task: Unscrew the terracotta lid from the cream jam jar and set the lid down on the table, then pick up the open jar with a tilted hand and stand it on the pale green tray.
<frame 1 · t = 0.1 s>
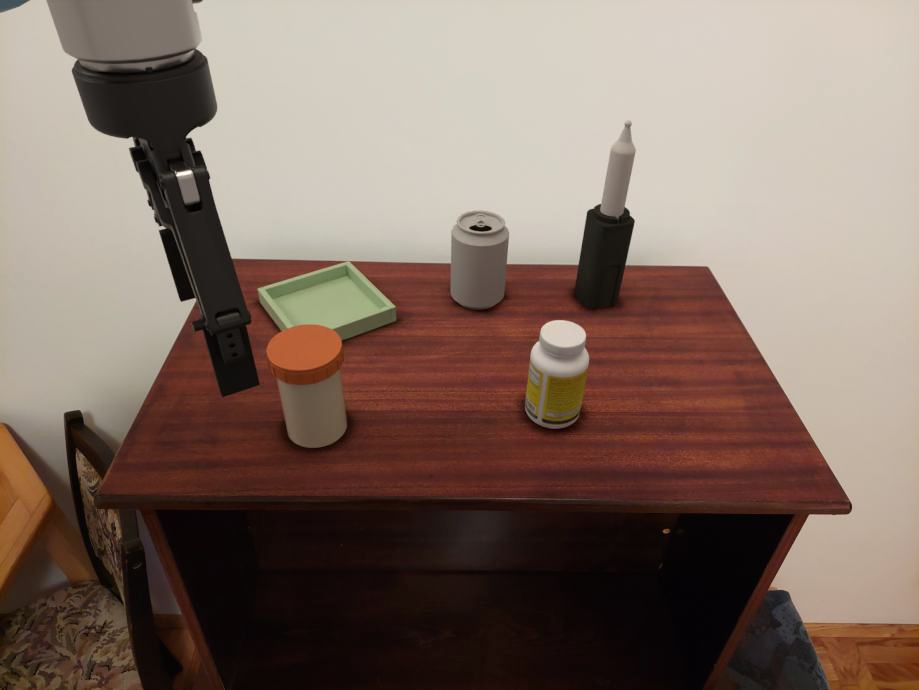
hand: (216, 338, 51), 19 cm above the table, tool pointing down, fingers open, 13 cm apart
jar: (317, 426, 70), on the table
lid: (305, 349, 63), point 11 cm above the table, screwed on, not yet turned
tray: (327, 311, 86), on the table
candle: (595, 299, 90), on the table
pill bottle: (551, 412, 72), on the table
can: (477, 298, 90), on the table
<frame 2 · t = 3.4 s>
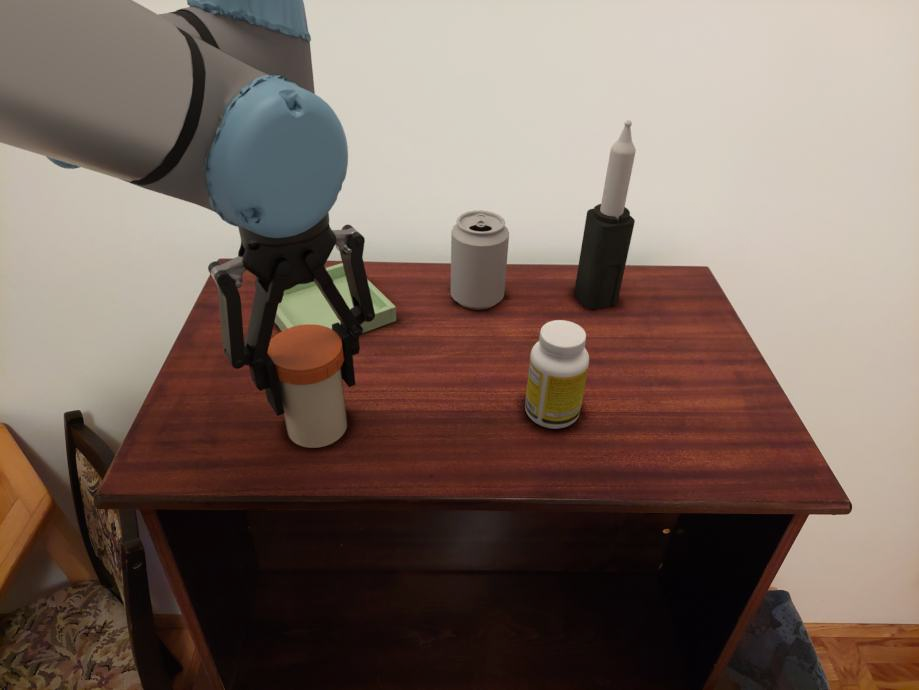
hand: (312, 392, 67), 5 cm above the table, tool pointing down, fingers closed on lid, 7 cm apart
lid: (305, 349, 63), point 11 cm above the table, screwed on, not yet turned, touching gripper
everything else where it was.
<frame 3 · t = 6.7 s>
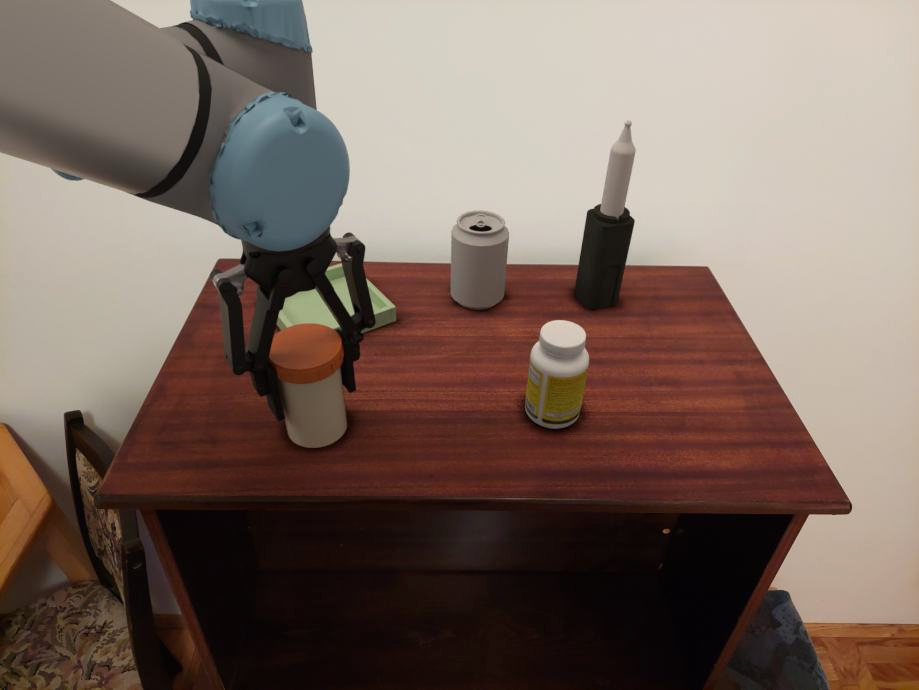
hand: (312, 397, 67), 4 cm above the table, tool pointing down, fingers closed on lid, 7 cm apart
lid: (304, 348, 63), point 11 cm above the table, turned 99° so far, risen 0.1 cm, still on its thread, touching gripper
everything else where it was.
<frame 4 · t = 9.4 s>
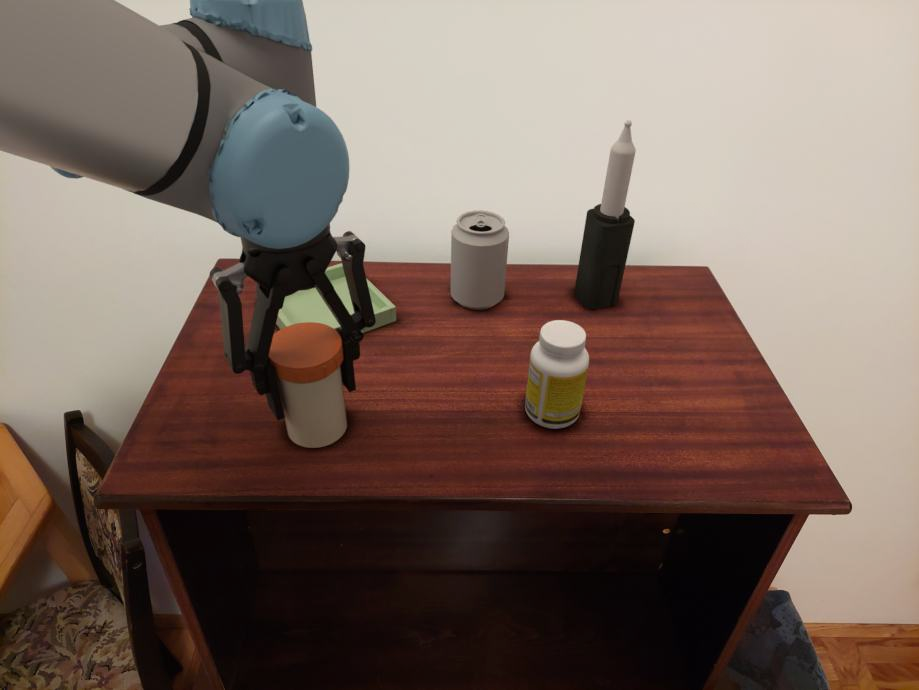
hand: (312, 396, 67), 4 cm above the table, tool pointing down, fingers closed on lid, 7 cm apart
lid: (304, 347, 63), point 11 cm above the table, turned 199° so far, risen 0.3 cm, still on its thread, touching gripper
everything else where it was.
when the fingers open (4 cm above the table, at t = 10.9 s): lid moves 1 cm, point 11 cm above the table.
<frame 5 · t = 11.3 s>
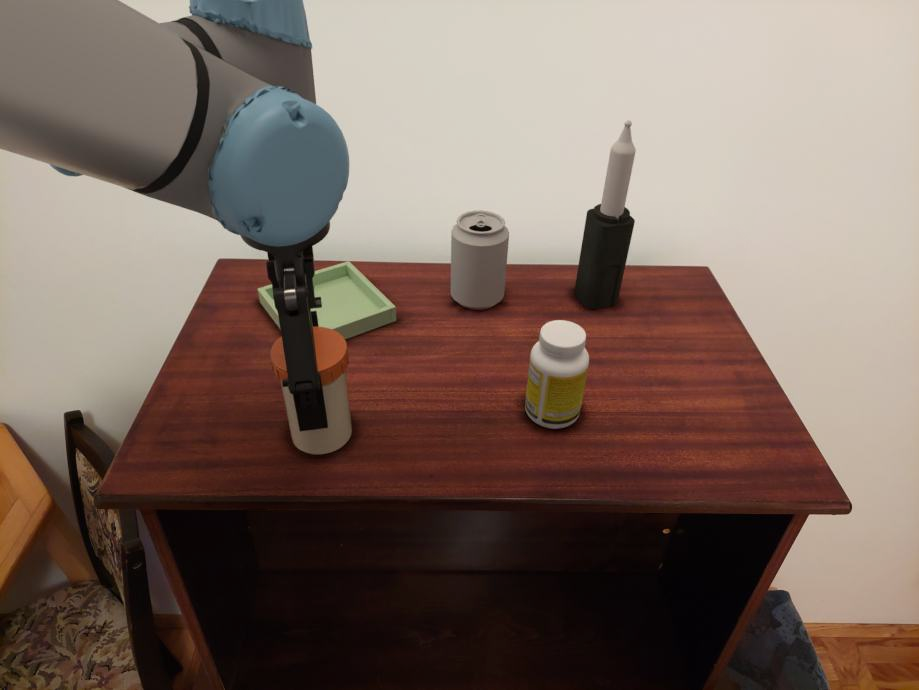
hand: (312, 392, 67), 5 cm above the table, tool pointing down, fingers open, 9 cm apart
jar: (322, 432, 69), on the table
lid: (309, 351, 62), point 11 cm above the table, turned 292° so far, risen 0.4 cm, still on its thread
everything else where it was.
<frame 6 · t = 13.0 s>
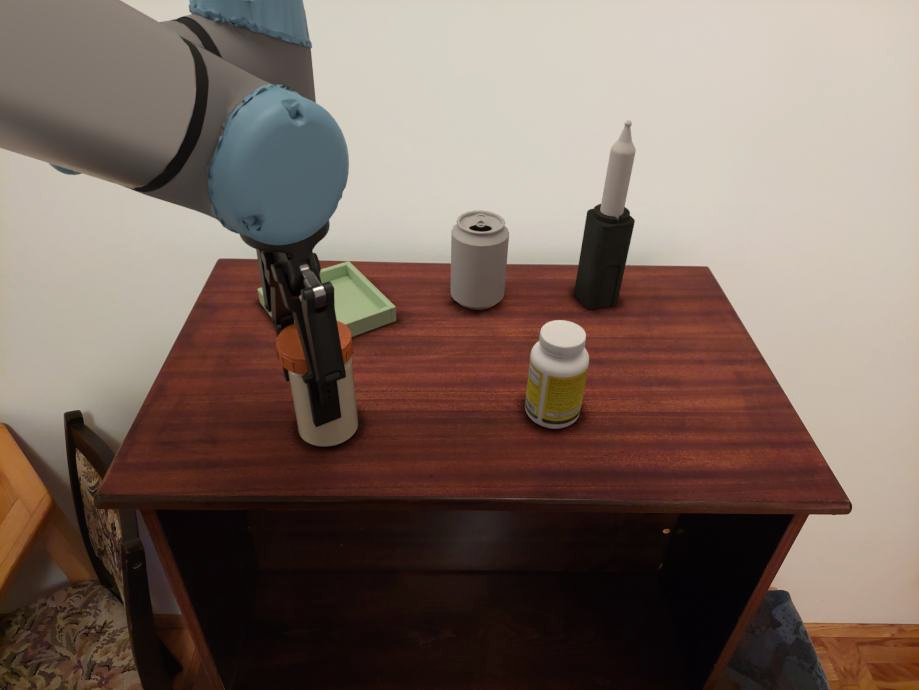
hand: (312, 396, 67), 5 cm above the table, tool pointing down, fingers closed on lid, 7 cm apart
jar: (328, 425, 70), on the table
lid: (314, 340, 63), point 11 cm above the table, off its thread, touching gripper
everything else where it was.
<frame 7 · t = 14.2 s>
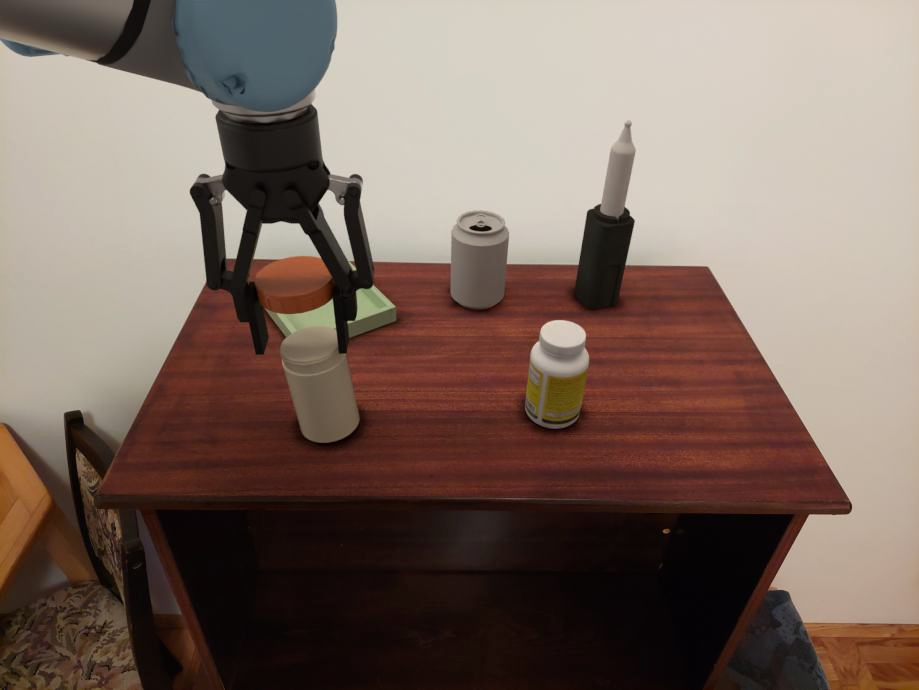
hand: (303, 345, 63), 11 cm above the table, tool pointing down, fingers closed on lid, 7 cm apart
jar: (330, 422, 70), on the table, tilted 6°, touching gripper
lid: (295, 278, 59), point 18 cm above the table, off its thread, touching gripper
everything else where it was.
when the fingers open (4 cm above the table, at t = 38.2 s): lid stays where it is, point 1 cm above the table.
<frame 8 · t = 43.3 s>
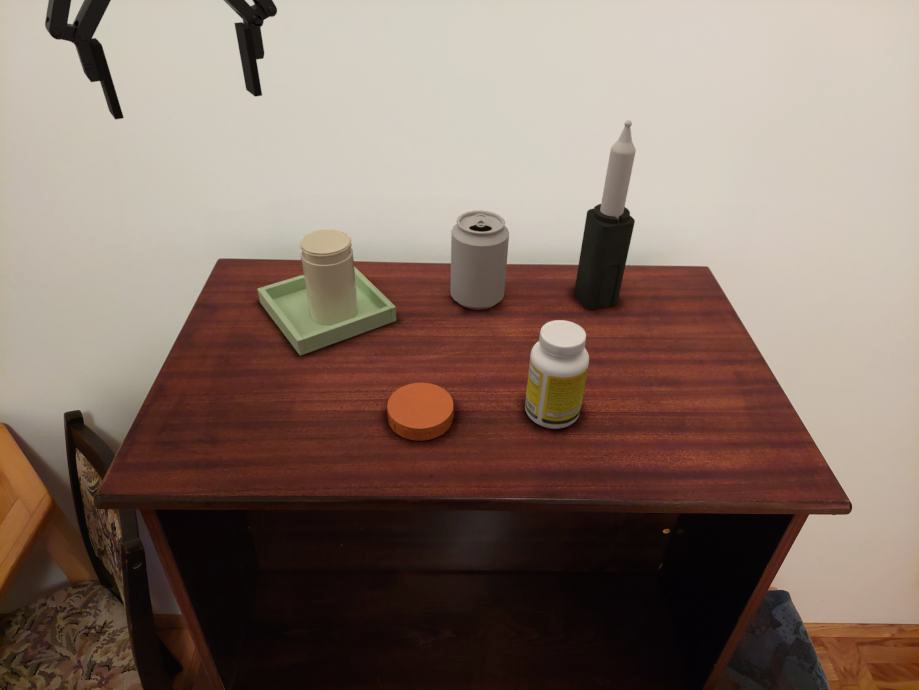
hand: (188, 103, 65), 29 cm above the table, tool pointing down, fingers open, 13 cm apart
jar: (333, 311, 86), resting on tray
lid: (420, 407, 70), point 1 cm above the table, off its thread
everything else where it was.
at the end: lid point 1.5 cm above the table; the gripper is holding nothing; jar inside the target area in the tray (1.1 cm from its centre), point 0.5 cm above the tray's base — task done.
